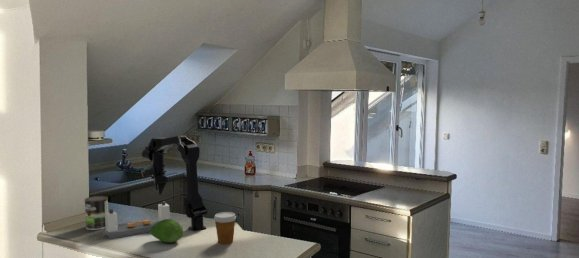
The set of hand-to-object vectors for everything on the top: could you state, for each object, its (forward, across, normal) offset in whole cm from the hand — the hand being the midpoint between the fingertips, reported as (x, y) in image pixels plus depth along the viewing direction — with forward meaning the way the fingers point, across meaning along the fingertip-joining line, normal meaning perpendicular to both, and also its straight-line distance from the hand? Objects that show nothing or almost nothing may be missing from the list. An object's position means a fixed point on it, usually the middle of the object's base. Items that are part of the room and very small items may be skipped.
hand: (158, 192), depth 236 cm
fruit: (+12, +40, -3) cm, 42 cm away
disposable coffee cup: (+11, +52, +20) cm, 56 cm away
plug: (+10, +17, 0) cm, 20 cm away
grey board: (+13, +19, -12) cm, 26 cm away
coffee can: (+14, +3, -29) cm, 33 cm away
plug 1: (+10, +20, -24) cm, 33 cm away
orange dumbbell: (+10, +19, -12) cm, 24 cm away
